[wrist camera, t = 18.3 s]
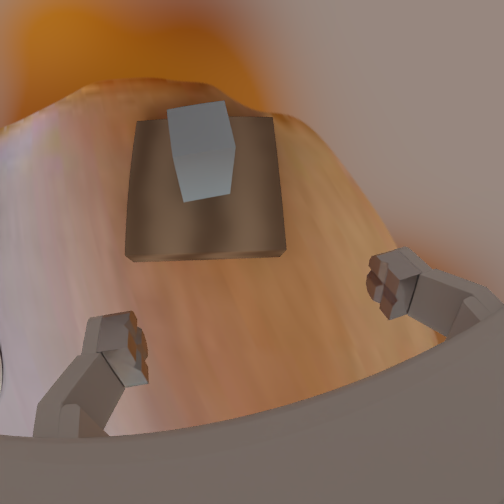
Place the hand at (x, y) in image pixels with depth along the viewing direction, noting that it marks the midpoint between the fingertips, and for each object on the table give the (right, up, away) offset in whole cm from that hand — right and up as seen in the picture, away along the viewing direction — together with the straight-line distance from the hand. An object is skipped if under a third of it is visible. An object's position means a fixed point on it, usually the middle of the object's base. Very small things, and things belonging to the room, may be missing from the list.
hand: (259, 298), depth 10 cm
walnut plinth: (-5, +8, +21) cm, 22 cm away
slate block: (-5, +8, +18) cm, 20 cm away
